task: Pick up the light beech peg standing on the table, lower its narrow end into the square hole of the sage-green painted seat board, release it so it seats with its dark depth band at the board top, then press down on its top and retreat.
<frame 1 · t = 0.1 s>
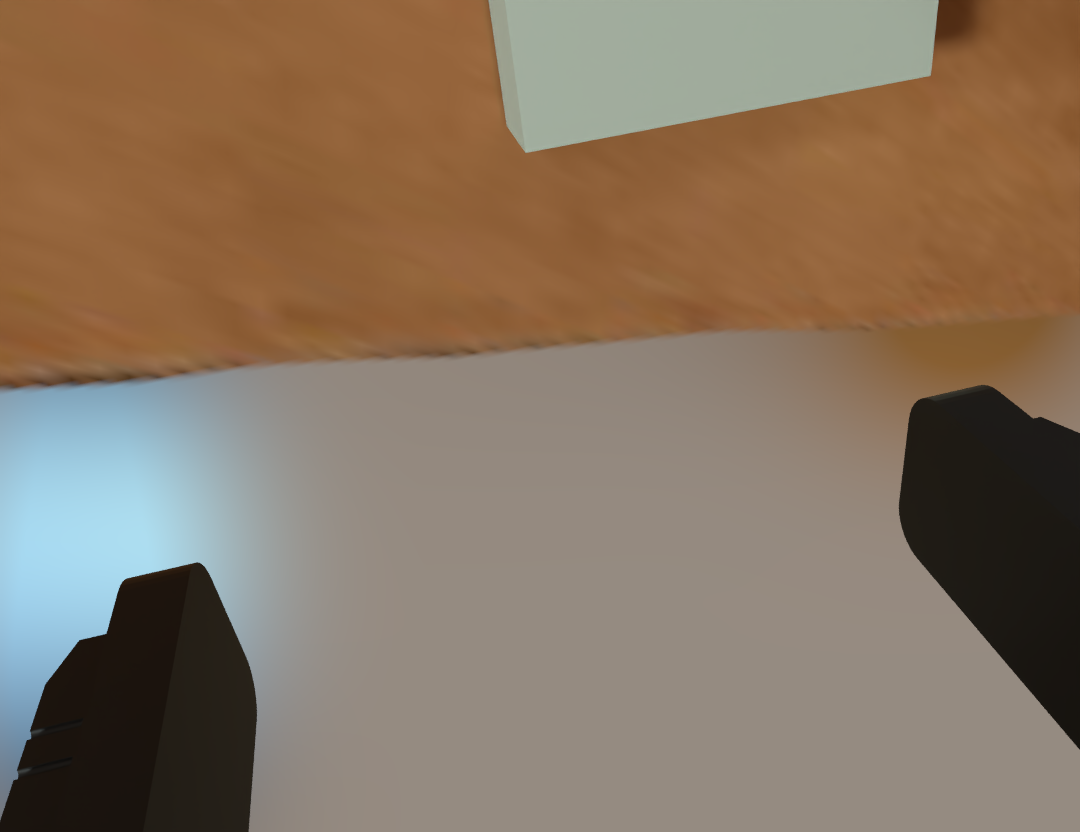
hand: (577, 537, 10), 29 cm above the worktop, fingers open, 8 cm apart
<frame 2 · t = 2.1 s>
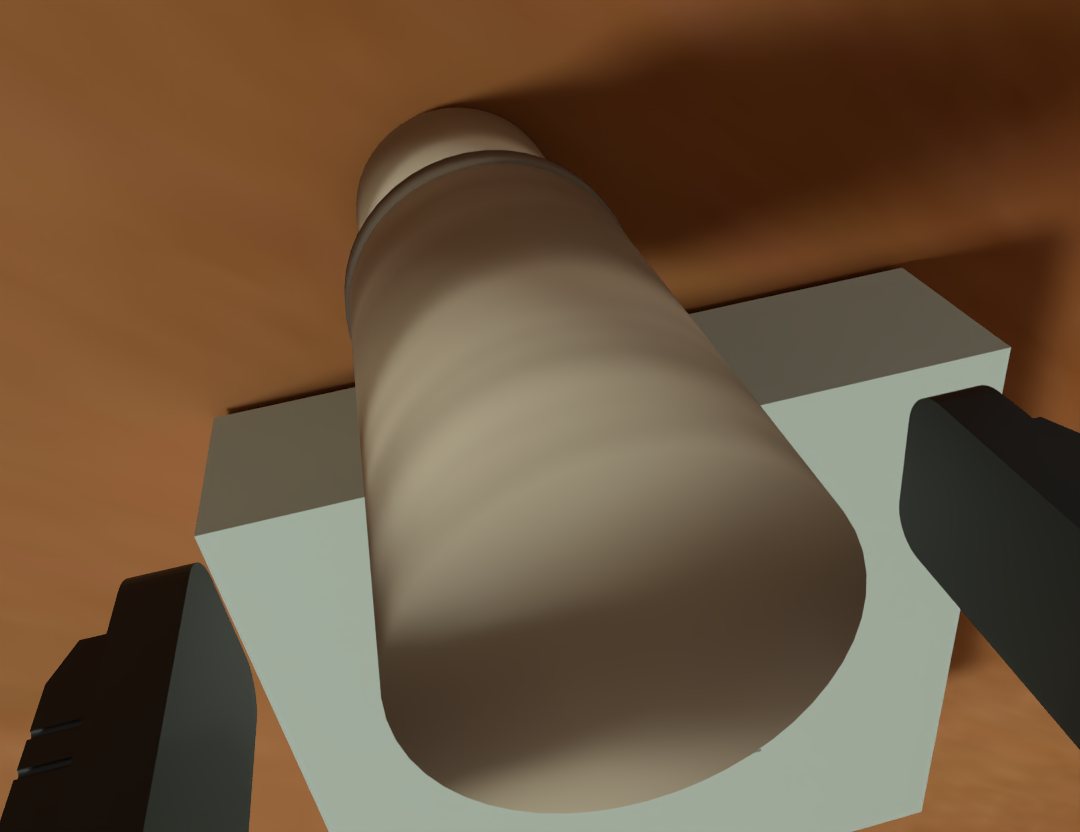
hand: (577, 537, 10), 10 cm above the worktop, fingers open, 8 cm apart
seat board: (602, 592, 25), on the worktop
peg: (457, 209, 18), on the worktop
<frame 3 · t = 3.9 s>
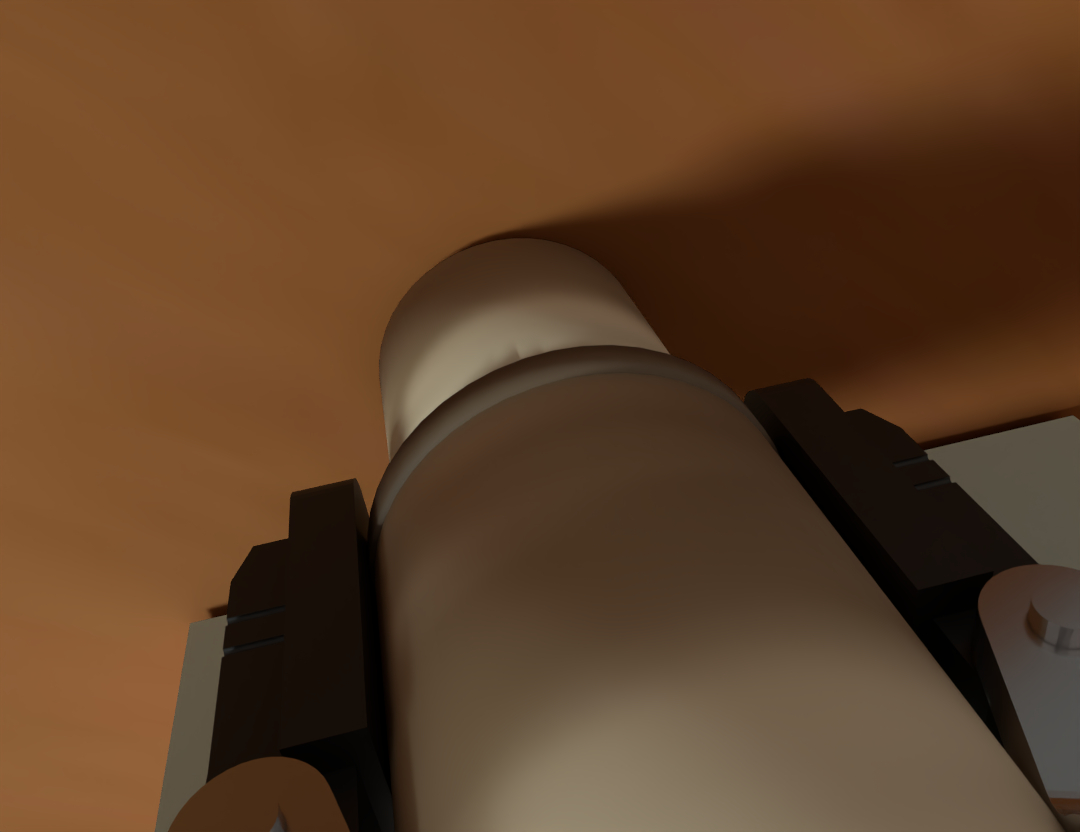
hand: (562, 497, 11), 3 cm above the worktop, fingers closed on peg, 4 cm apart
seat board: (674, 790, 20), on the worktop
peg: (513, 364, 14), on the worktop, touching gripper
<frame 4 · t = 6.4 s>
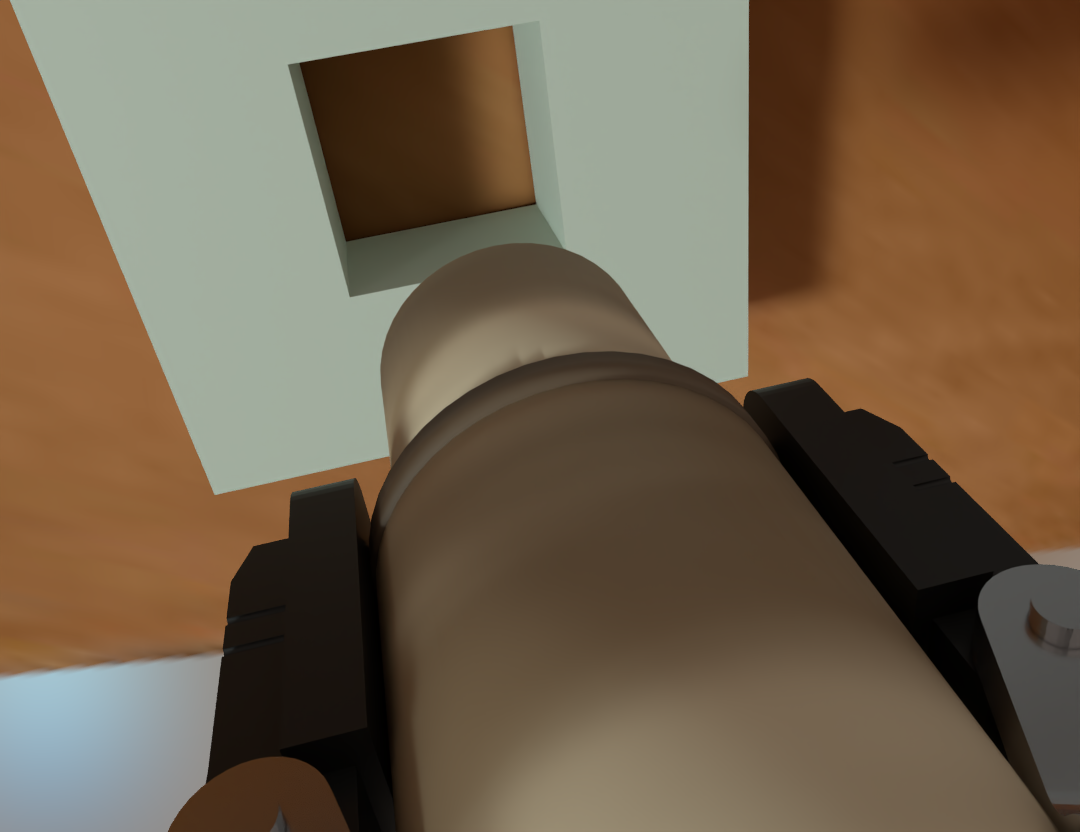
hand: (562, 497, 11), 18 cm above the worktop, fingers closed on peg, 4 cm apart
seat board: (423, 125, 25), on the worktop
peg: (514, 369, 14), point 14 cm above the worktop, touching gripper
when the fingers open (6 cm above the worktop, at t = 8.9 s): peg drops 2 cm, resting in seat board.
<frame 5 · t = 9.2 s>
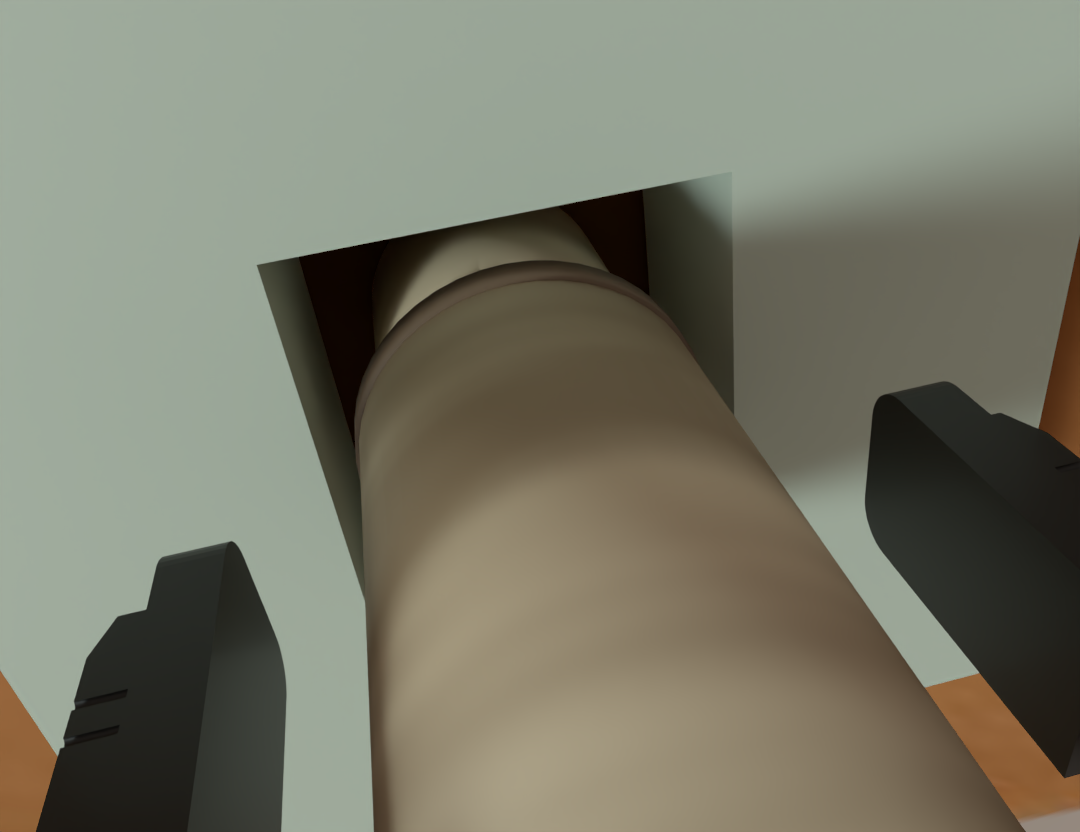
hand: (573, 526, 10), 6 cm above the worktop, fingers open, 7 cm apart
seat board: (487, 298, 16), on the worktop
peg: (488, 300, 16), resting in seat board
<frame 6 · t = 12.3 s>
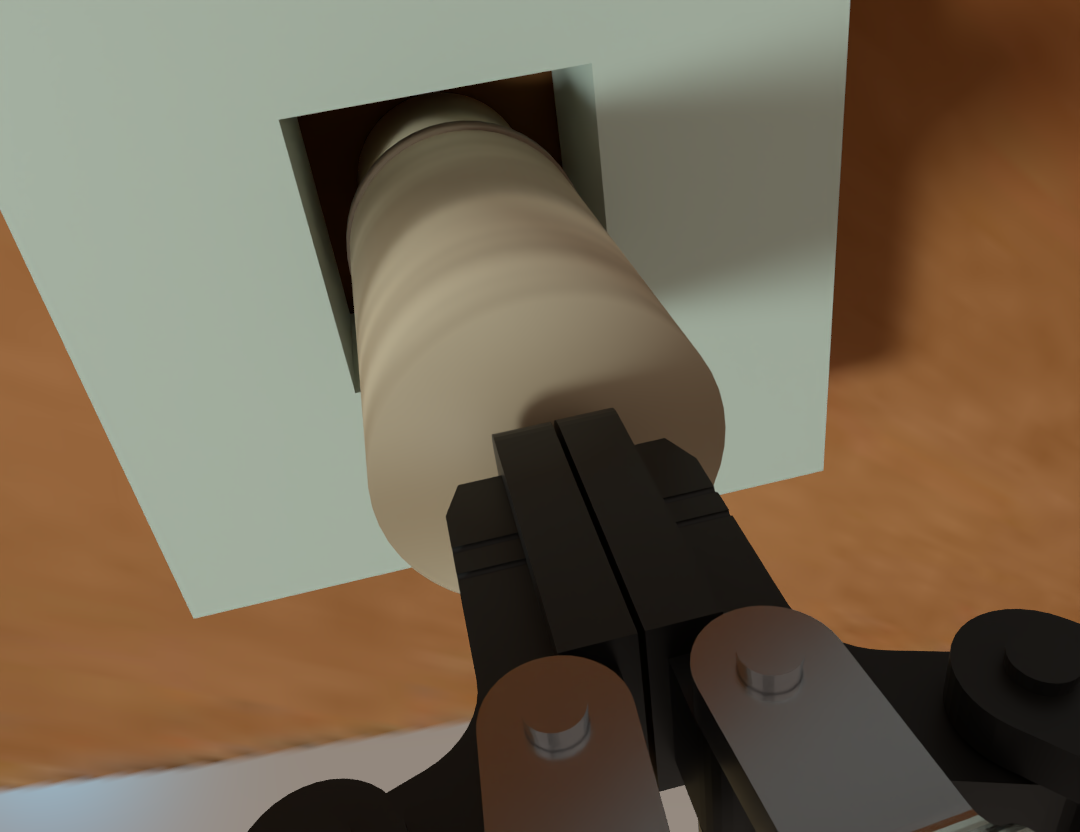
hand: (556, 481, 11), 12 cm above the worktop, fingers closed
seat board: (442, 179, 21), on the worktop
peg: (443, 180, 21), resting in seat board
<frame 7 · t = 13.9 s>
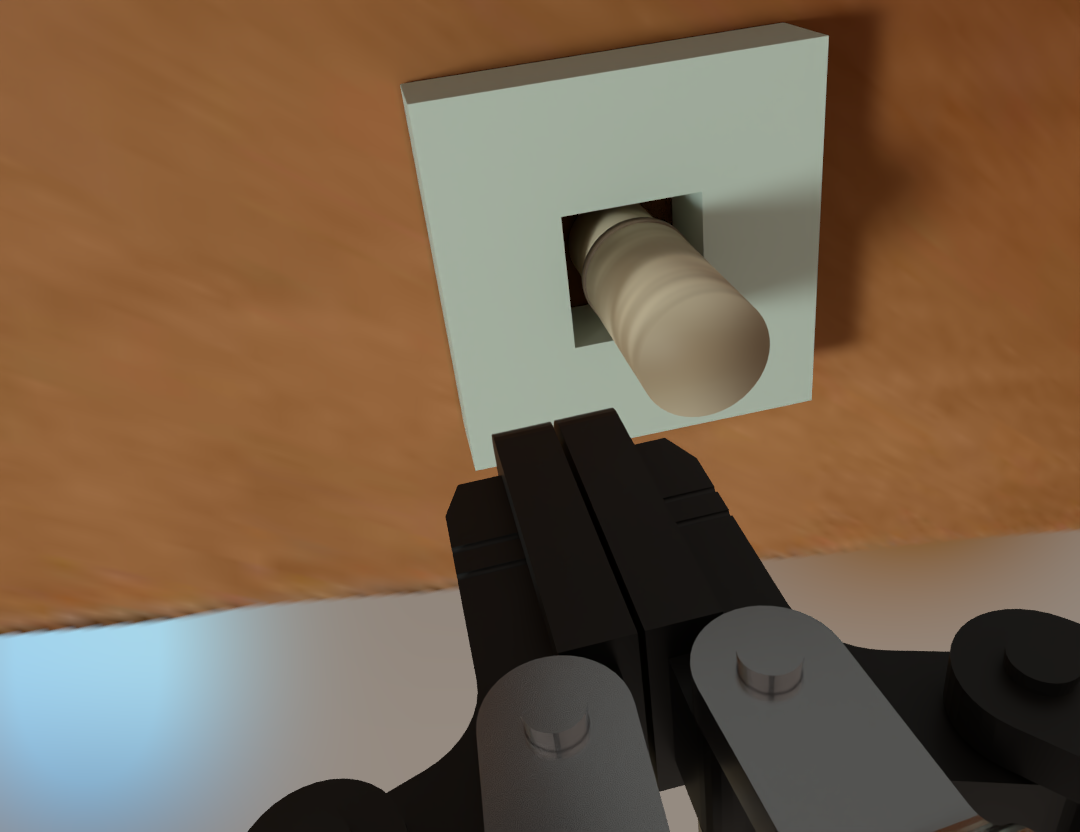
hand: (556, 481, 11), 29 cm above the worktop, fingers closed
seat board: (611, 240, 41), on the worktop
peg: (611, 240, 41), resting in seat board
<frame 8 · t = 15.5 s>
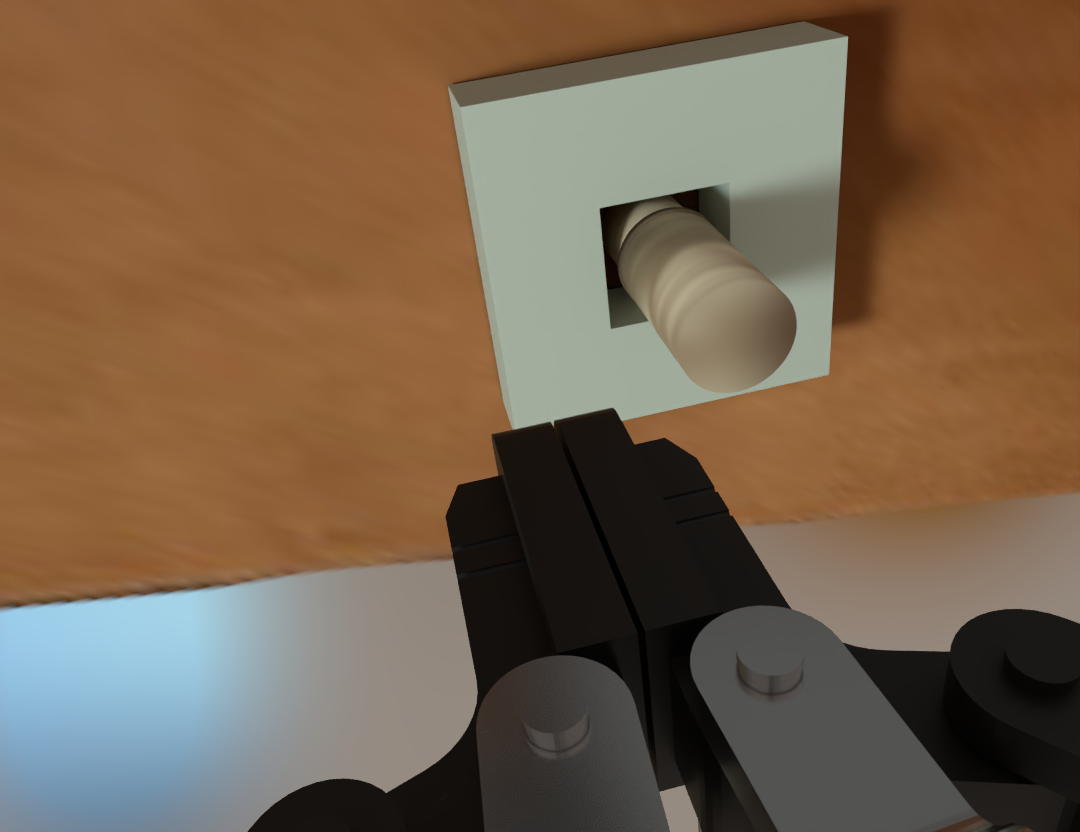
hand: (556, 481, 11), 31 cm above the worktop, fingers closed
seat board: (641, 227, 43), on the worktop
peg: (641, 227, 43), resting in seat board
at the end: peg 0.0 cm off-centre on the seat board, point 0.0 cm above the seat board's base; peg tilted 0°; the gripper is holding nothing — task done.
